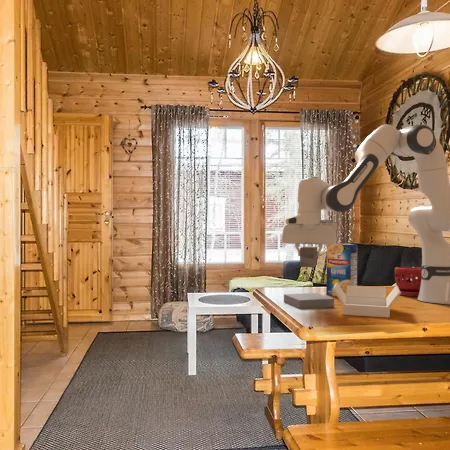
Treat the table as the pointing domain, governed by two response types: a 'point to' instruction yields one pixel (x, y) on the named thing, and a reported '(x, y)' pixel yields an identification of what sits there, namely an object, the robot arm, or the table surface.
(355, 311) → the carton
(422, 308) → the table surface
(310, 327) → the table surface
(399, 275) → the plant pot
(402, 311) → the table surface
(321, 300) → the slate platform
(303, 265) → the walnut block
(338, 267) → the blue cardboard box
